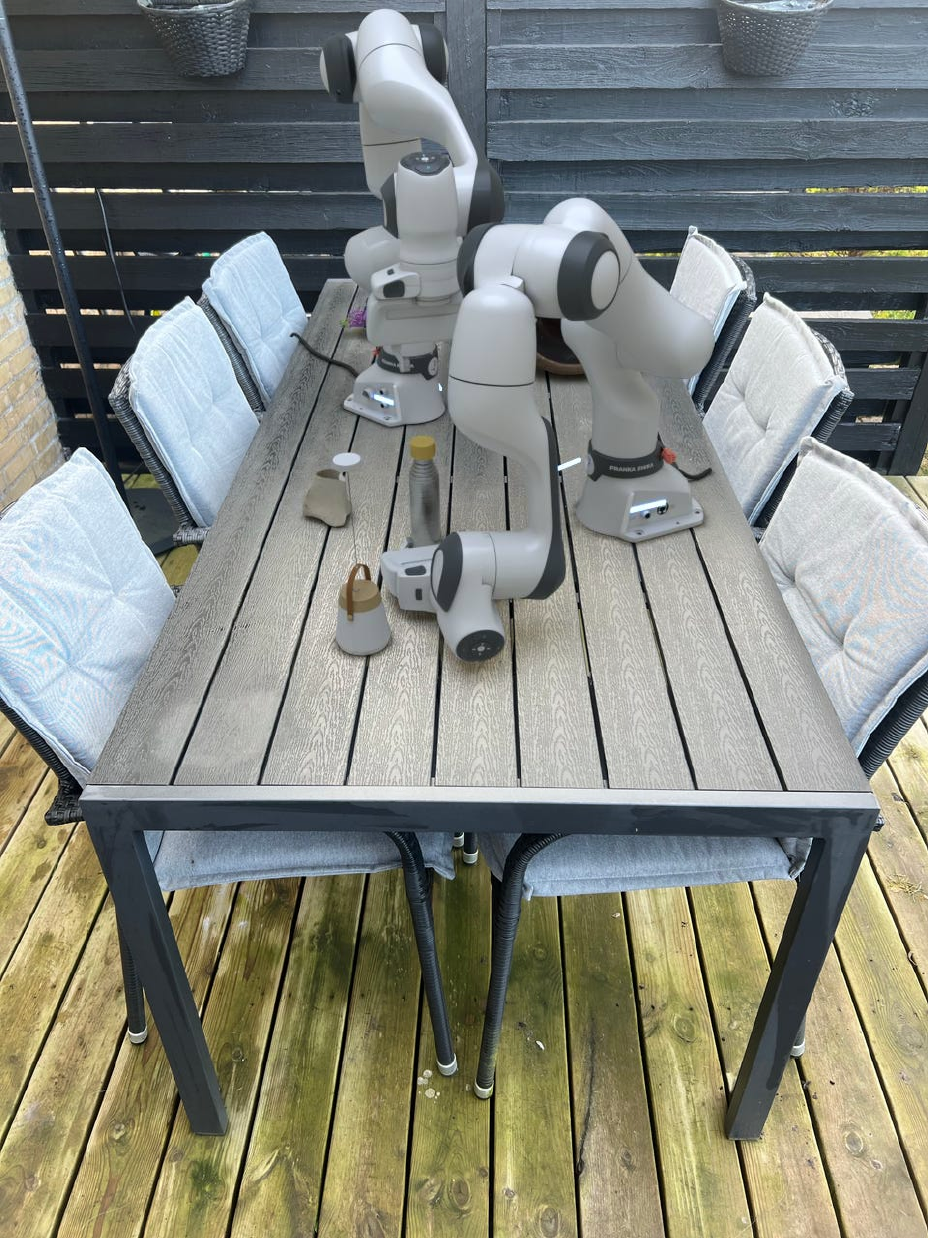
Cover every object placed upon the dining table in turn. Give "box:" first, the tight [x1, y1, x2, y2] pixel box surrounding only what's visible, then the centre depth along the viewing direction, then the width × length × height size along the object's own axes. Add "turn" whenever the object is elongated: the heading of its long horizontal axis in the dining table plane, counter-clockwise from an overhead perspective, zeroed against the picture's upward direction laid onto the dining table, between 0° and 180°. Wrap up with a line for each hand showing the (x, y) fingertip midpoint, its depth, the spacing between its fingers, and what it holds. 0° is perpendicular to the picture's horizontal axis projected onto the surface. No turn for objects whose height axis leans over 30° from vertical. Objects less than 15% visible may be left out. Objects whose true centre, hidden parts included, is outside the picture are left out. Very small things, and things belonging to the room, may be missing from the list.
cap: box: [409, 435, 436, 460], centre depth 150 cm, size 4×4×2 cm
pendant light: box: [332, 452, 392, 656], centre depth 130 cm, size 8×8×30 cm
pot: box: [535, 316, 586, 376], centre depth 220 cm, size 32×32×30 cm
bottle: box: [408, 458, 442, 548], centre depth 155 cm, size 5×5×19 cm
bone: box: [301, 468, 353, 528], centre depth 164 cm, size 9×8×10 cm
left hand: (434, 367), depth 145 cm, fingers open, 8 cm apart
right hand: (435, 536), depth 152 cm, fingers open, 8 cm apart
